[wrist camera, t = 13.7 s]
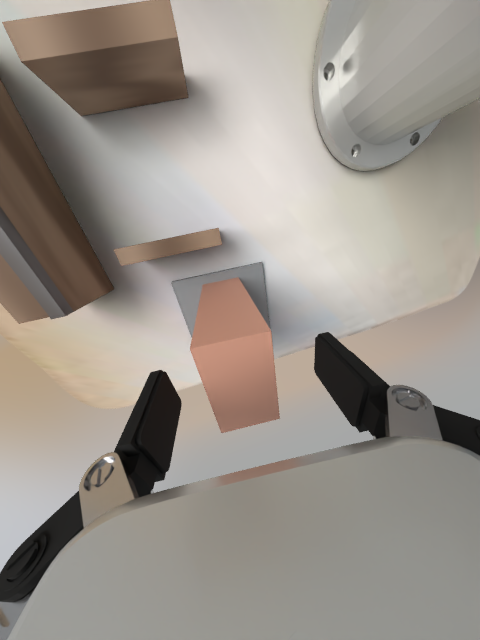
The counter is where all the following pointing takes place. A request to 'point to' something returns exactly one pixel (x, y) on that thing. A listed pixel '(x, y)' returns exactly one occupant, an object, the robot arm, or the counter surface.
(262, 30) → the counter surface
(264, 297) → the grey mat
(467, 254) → the counter surface
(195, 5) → the counter surface
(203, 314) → the salmon pink block
